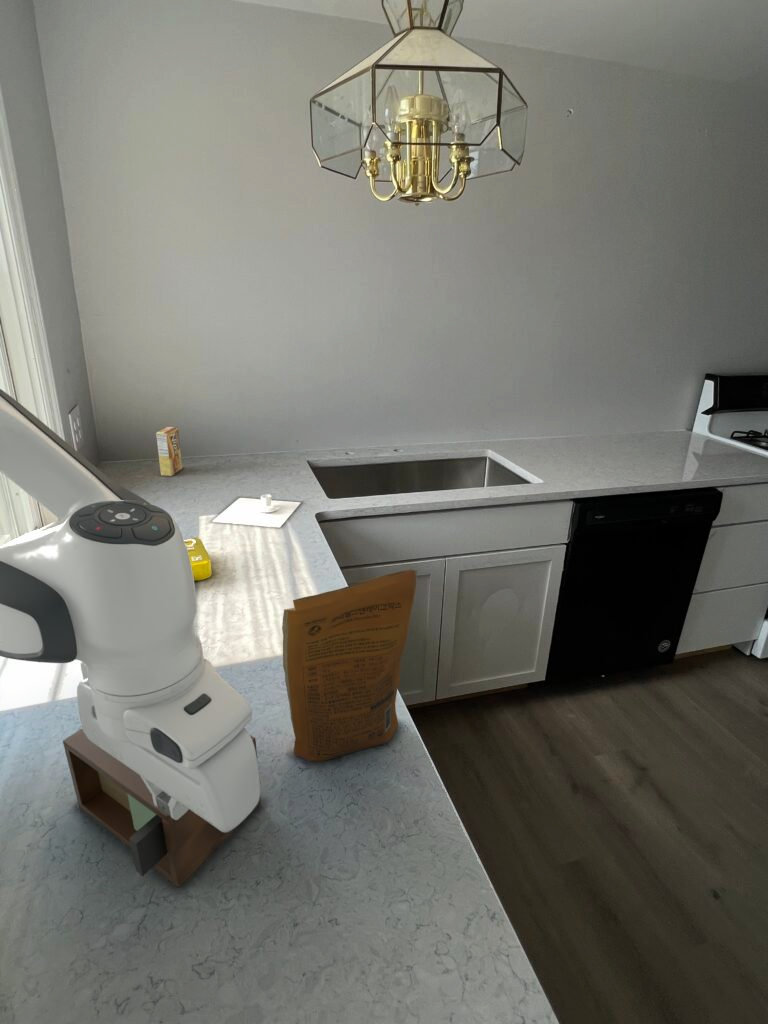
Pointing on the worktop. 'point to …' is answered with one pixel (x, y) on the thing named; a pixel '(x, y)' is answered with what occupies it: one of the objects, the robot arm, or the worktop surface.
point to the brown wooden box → (107, 803)
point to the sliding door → (146, 837)
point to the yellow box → (198, 559)
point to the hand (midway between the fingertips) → (172, 808)
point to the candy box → (169, 451)
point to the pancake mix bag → (346, 664)
